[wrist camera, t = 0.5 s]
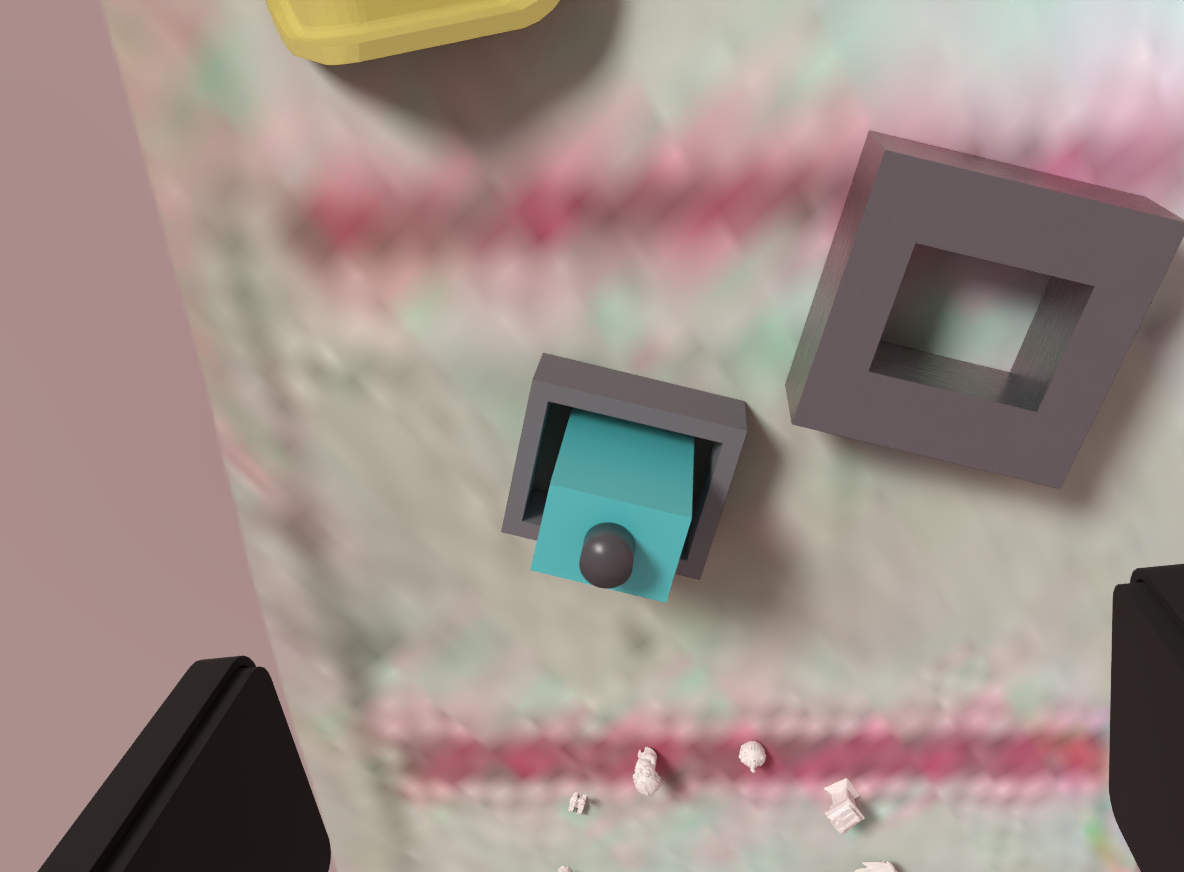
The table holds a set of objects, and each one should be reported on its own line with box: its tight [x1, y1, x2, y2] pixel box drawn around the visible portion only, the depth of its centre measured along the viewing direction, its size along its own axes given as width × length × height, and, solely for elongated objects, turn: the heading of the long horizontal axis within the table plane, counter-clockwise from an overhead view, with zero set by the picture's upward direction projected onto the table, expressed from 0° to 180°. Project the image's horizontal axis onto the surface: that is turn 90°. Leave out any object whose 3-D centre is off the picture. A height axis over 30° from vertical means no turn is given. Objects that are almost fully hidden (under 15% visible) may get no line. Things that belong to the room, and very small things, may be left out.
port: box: [785, 130, 1184, 489], centre depth 40 cm, size 11×11×4 cm
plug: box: [531, 407, 694, 603], centre depth 43 cm, size 4×6×10 cm
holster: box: [501, 353, 747, 580], centre depth 45 cm, size 8×9×3 cm
